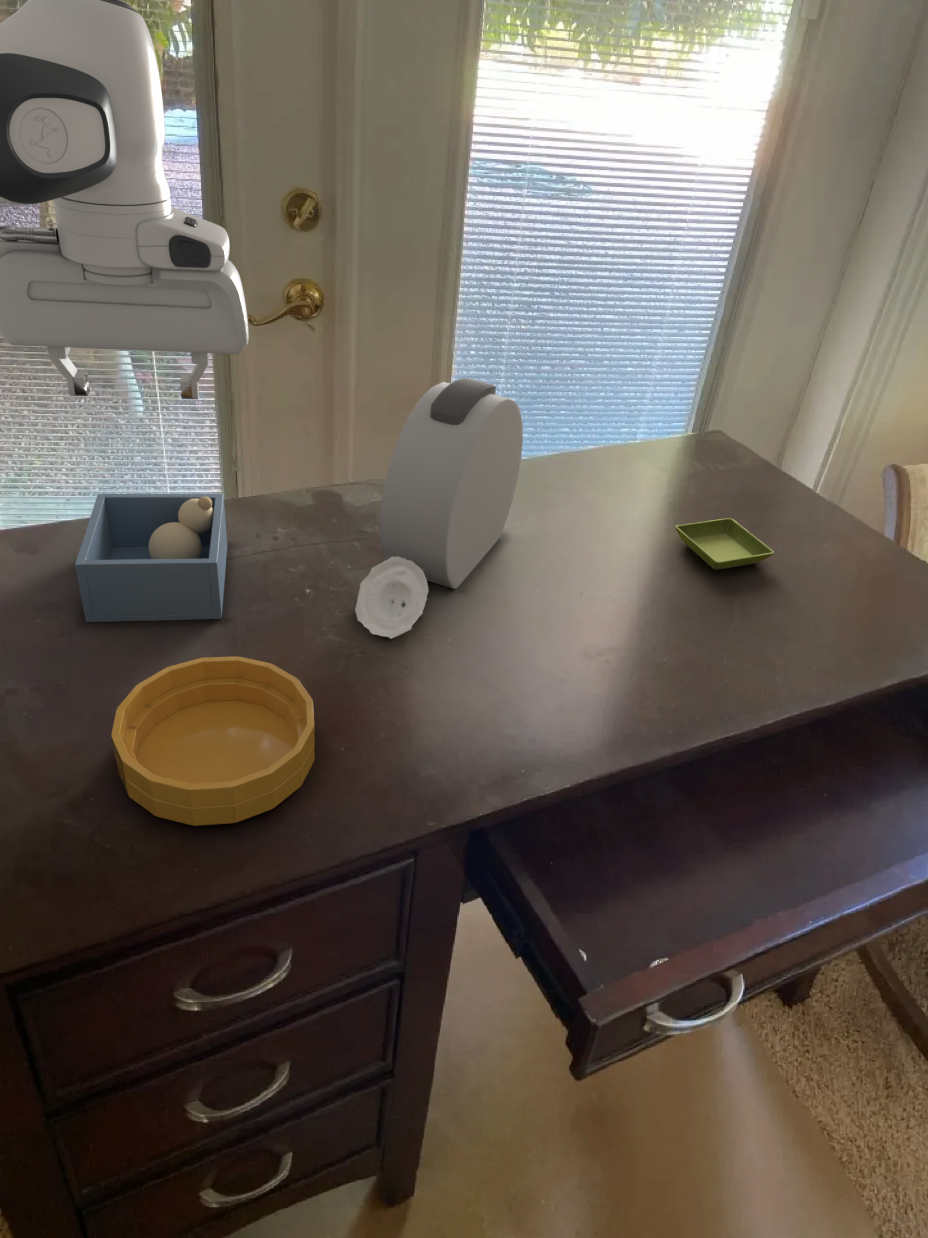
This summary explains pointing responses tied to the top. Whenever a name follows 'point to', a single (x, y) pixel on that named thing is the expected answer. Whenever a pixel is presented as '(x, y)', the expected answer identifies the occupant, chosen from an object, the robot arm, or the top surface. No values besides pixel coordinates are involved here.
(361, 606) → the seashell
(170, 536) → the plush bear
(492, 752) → the top surface
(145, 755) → the bowl
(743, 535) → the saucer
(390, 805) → the top surface
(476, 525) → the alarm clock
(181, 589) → the bin
